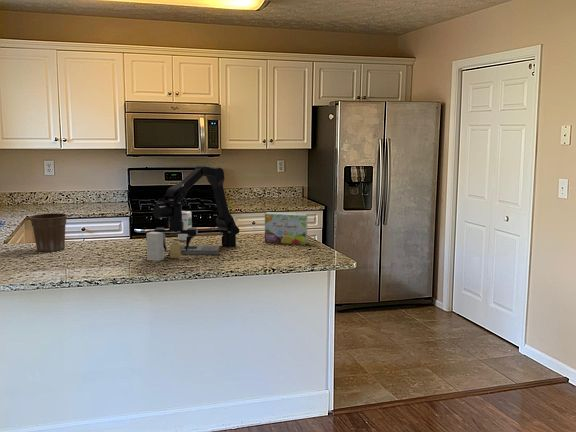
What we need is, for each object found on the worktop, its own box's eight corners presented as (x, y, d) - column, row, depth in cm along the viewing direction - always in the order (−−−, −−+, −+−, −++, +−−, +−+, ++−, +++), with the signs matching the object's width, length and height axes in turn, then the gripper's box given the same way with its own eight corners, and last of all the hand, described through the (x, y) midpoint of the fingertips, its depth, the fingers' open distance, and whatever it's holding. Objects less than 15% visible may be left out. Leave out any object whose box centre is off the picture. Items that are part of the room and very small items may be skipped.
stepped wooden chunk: (182, 255, 256) (181, 240, 255) (180, 258, 252) (180, 242, 251) (172, 255, 256) (171, 240, 255) (170, 258, 251) (169, 242, 250)
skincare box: (164, 259, 249) (163, 232, 247) (159, 261, 245) (158, 233, 243) (152, 258, 251) (151, 231, 249) (146, 260, 247) (146, 233, 245)
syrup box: (188, 240, 291) (187, 212, 289) (177, 240, 292) (176, 212, 290) (192, 238, 296) (192, 211, 294) (181, 238, 298) (181, 210, 295)
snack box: (264, 242, 288) (264, 213, 286) (267, 240, 293) (267, 211, 291) (305, 244, 283) (305, 214, 281) (307, 242, 289) (307, 213, 286)
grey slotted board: (219, 249, 270) (219, 245, 269) (217, 254, 259) (217, 250, 259) (173, 249, 269) (172, 245, 269) (169, 254, 258) (168, 250, 258)
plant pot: (38, 254, 255) (36, 219, 253) (26, 249, 267) (24, 215, 265) (74, 250, 266) (72, 216, 263) (61, 244, 278) (60, 212, 275)
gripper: (198, 213, 259) (199, 247, 262) (157, 213, 259) (158, 247, 261) (195, 217, 248) (196, 252, 251) (152, 217, 248) (153, 252, 250)
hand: (176, 250), depth 253 cm, fingers open, 9 cm apart
